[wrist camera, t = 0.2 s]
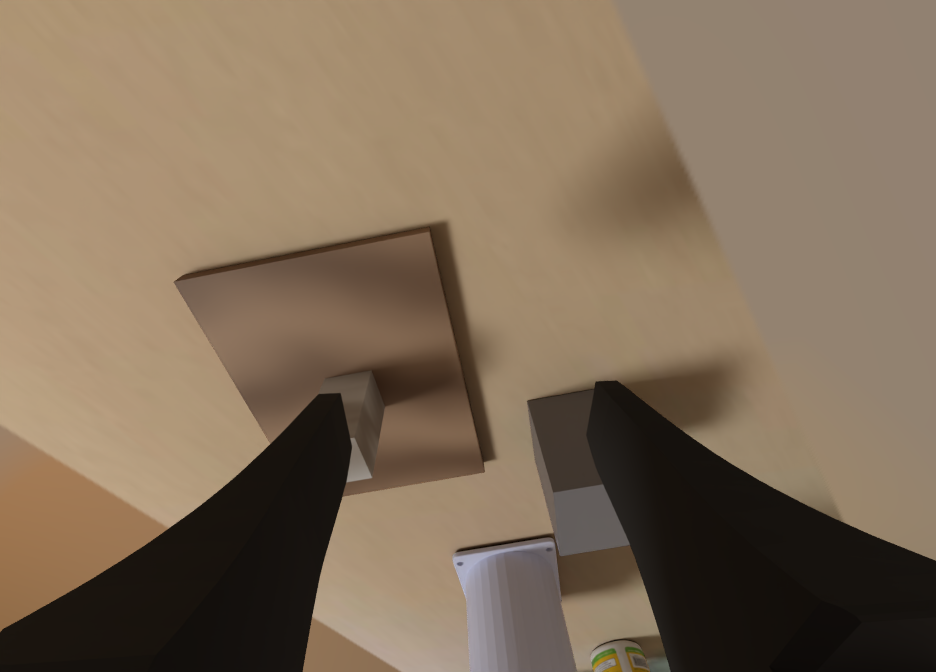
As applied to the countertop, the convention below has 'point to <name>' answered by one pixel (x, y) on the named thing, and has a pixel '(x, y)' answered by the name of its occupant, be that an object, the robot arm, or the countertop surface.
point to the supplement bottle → (619, 657)
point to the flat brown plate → (348, 352)
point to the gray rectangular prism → (572, 475)
